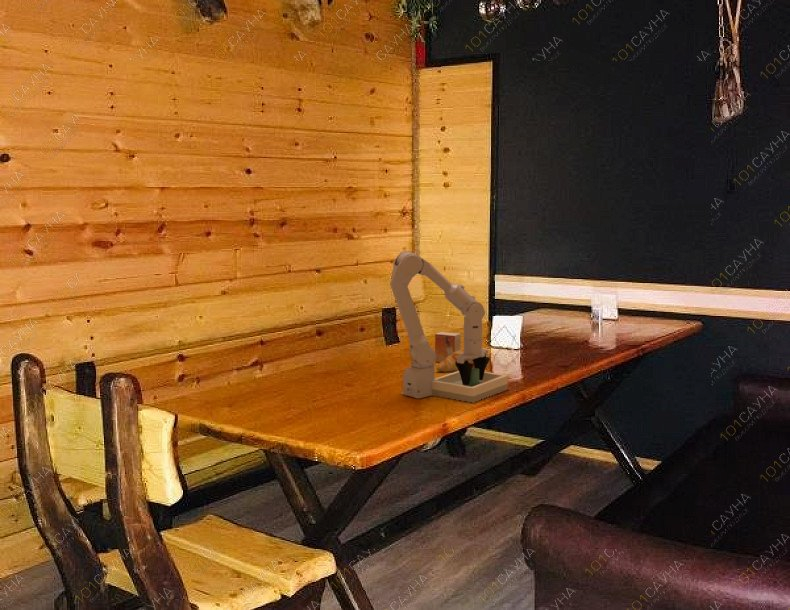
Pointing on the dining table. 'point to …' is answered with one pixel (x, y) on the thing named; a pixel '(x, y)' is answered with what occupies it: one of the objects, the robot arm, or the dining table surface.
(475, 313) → the robot arm
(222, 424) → the dining table surface
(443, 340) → the small box
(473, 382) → the peg
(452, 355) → the croissant
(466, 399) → the bore tray
